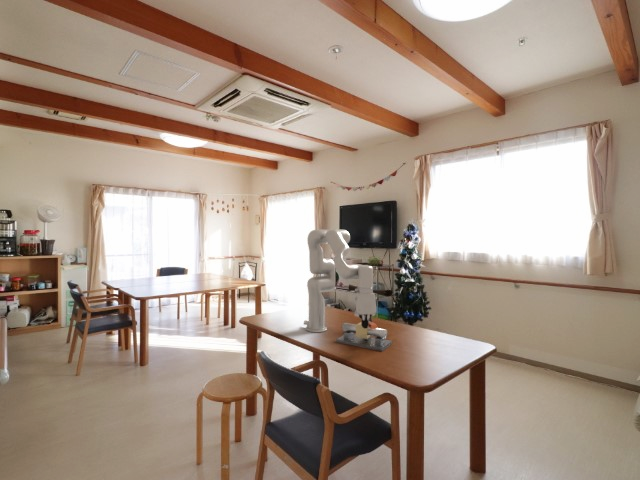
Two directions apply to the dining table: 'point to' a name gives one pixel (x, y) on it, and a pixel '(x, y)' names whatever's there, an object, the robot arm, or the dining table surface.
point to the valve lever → (372, 325)
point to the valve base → (364, 342)
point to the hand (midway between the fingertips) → (364, 327)
